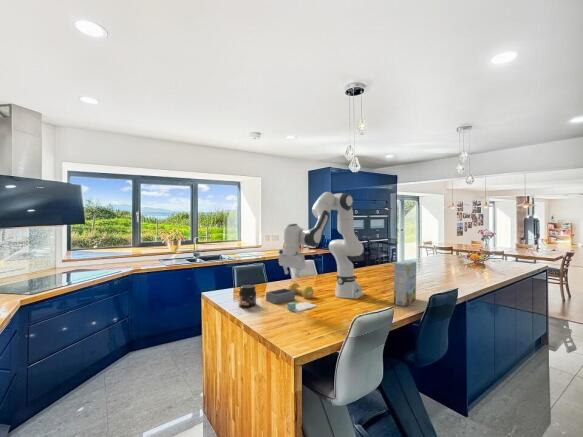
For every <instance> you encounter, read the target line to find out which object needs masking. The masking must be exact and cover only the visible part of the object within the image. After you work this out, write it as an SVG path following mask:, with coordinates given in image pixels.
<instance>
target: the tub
mask: <svg viewBox="0 0 583 437" xmlns="http://www.w3.org/2000/svg"><path fill="white" fill-rule="evenodd" d="M295 299H296V294H295V291H293V290H289V289H288V288H281V289H276V290H271V291H266V292H265V301H266V302H268V303H272V304H275V305H277V304H282V303H286V302H290V301H294V300H295Z"/></svg>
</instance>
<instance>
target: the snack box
mask: <svg viewBox="0 0 583 437" xmlns="http://www.w3.org/2000/svg"><path fill="white" fill-rule="evenodd" d="M393 280H394V282H393V283H394V284H393V286H394V287H393V305H397V306H401V307H408V306H409V305H410V304H411V303H412V302H414V301H416V299H417V297H416V296H417V261H415V260H407V259H406V260H401V261H399V262H397V263H394V278H393Z"/></svg>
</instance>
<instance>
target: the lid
mask: <svg viewBox="0 0 583 437" xmlns="http://www.w3.org/2000/svg"><path fill="white" fill-rule="evenodd" d="M286 305H287V306H285V308H287V310H288V311H289V312H295V313H299V312H303V311H307V310H309V309H314V308H318V305H316V304H314V303H310V302H308V301H304V302H299V303H296V302H295V301H294V302H287V304H286Z"/></svg>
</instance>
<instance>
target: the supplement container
mask: <svg viewBox="0 0 583 437" xmlns="http://www.w3.org/2000/svg"><path fill="white" fill-rule="evenodd" d="M238 295H239V296H238V299H239V300H238V306H239V307H240V308H242V307H243V308H242V309H251V308H252V307H255V306H257V291H256V285H254V284H243V285H240V286H239V292H238Z"/></svg>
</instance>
